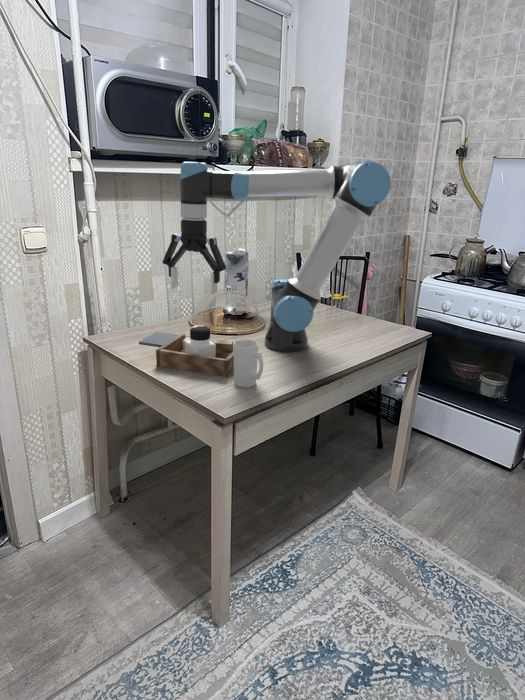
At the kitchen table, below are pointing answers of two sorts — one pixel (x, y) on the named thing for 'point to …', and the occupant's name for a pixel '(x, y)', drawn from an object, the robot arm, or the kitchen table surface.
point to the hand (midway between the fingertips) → (193, 290)
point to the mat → (159, 339)
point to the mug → (246, 363)
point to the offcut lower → (222, 355)
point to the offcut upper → (223, 346)
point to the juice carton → (236, 271)
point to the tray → (192, 360)
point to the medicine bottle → (200, 342)
